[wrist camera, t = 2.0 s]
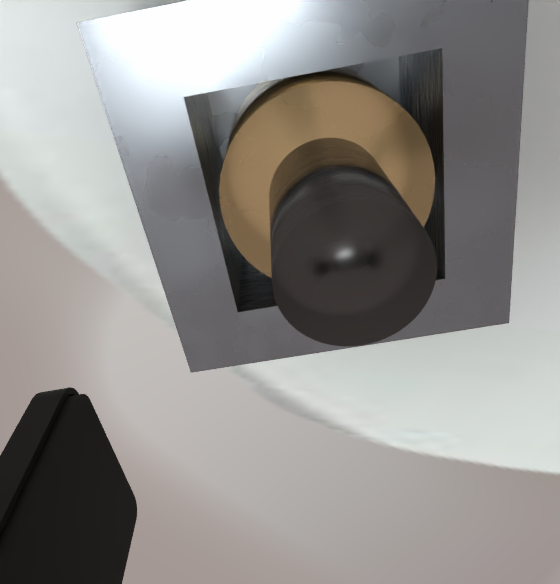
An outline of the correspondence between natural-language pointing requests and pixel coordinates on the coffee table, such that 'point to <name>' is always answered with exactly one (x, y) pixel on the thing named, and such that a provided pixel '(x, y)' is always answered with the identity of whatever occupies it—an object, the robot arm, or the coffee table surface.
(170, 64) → the block
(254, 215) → the stepped cylindrical shaft
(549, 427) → the coffee table surface
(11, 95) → the coffee table surface
